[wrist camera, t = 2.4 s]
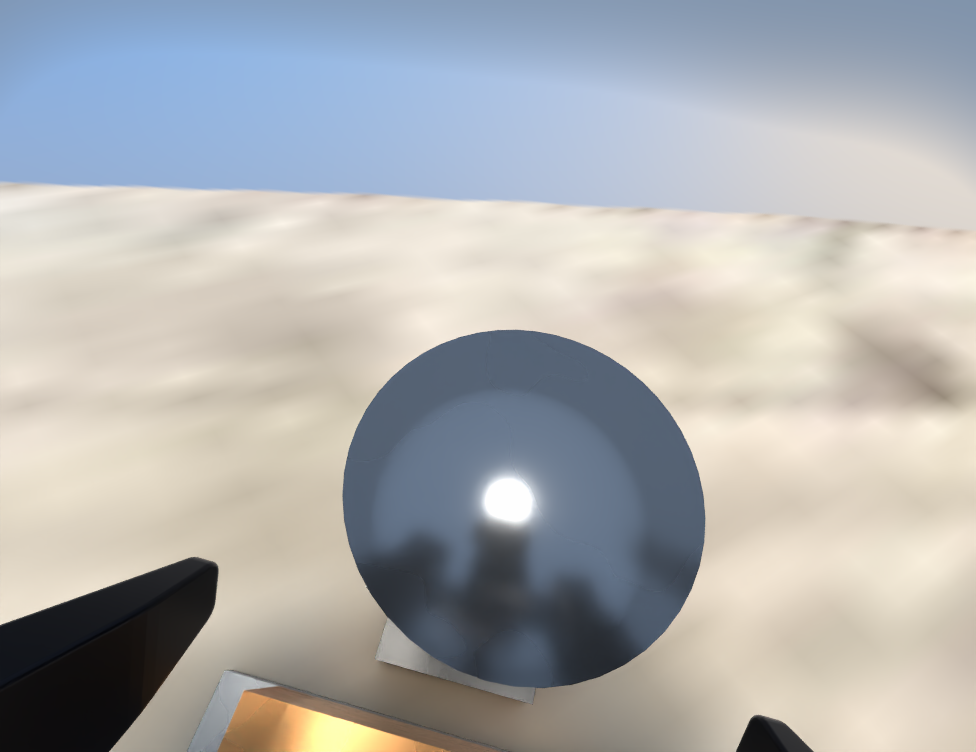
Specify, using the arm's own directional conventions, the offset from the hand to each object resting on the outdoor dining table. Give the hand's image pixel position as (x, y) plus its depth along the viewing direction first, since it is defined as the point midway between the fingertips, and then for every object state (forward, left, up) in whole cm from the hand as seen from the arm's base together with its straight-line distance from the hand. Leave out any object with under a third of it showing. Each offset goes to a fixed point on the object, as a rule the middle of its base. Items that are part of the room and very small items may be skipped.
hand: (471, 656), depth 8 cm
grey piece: (+2, -1, -10) cm, 10 cm away
